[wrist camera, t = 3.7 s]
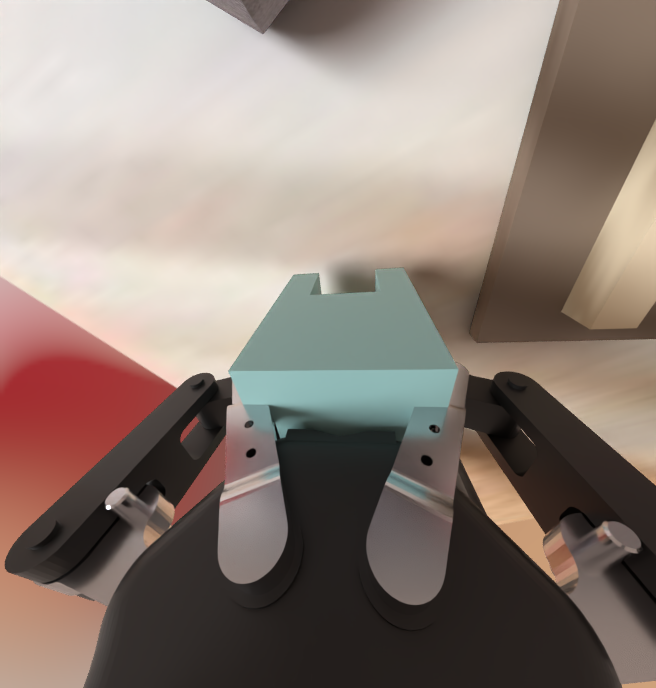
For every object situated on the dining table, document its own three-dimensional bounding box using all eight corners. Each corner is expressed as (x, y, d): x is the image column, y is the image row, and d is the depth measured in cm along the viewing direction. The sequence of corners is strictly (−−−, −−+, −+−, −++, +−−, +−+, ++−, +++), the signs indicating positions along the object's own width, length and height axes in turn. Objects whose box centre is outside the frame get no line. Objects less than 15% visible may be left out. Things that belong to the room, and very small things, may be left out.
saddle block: (293, 274, 13) (228, 370, 6) (403, 267, 12) (458, 369, 6) (309, 360, 16) (276, 482, 10) (396, 359, 15) (424, 491, 9)
